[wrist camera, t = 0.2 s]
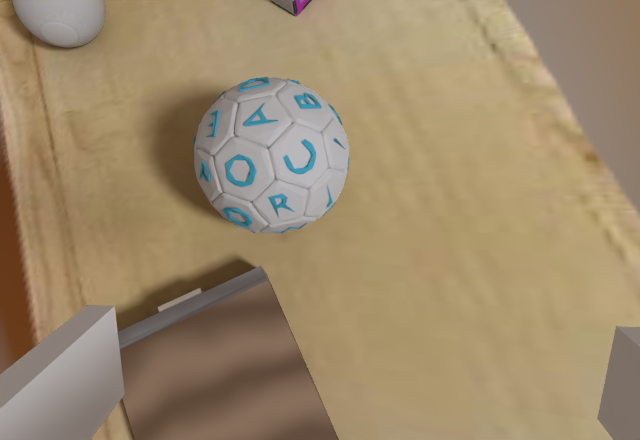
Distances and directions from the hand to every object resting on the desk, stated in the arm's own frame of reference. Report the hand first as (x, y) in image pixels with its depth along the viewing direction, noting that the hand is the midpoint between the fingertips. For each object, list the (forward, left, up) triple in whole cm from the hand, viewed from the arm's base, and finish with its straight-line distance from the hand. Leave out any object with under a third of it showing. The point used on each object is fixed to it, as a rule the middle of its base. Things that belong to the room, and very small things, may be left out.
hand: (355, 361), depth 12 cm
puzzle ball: (+21, -3, -35) cm, 41 cm away
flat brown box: (+3, +11, -35) cm, 37 cm away
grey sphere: (+53, +12, -35) cm, 65 cm away
